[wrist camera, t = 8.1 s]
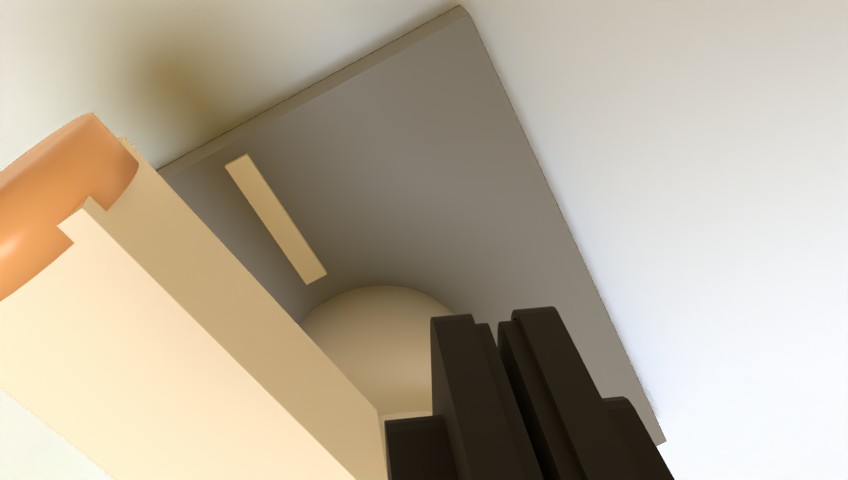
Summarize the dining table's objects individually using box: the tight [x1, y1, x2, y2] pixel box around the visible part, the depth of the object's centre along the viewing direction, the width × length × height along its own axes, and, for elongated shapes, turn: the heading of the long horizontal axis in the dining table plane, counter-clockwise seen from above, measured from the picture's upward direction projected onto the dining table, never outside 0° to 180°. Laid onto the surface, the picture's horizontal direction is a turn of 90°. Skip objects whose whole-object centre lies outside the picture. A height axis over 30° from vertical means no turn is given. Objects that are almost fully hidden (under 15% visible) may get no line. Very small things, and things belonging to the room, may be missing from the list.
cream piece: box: [0, 113, 432, 480], centre depth 19 cm, size 18×8×4 cm, turn 33°
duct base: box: [156, 5, 666, 446], centre depth 27 cm, size 17×20×9 cm
